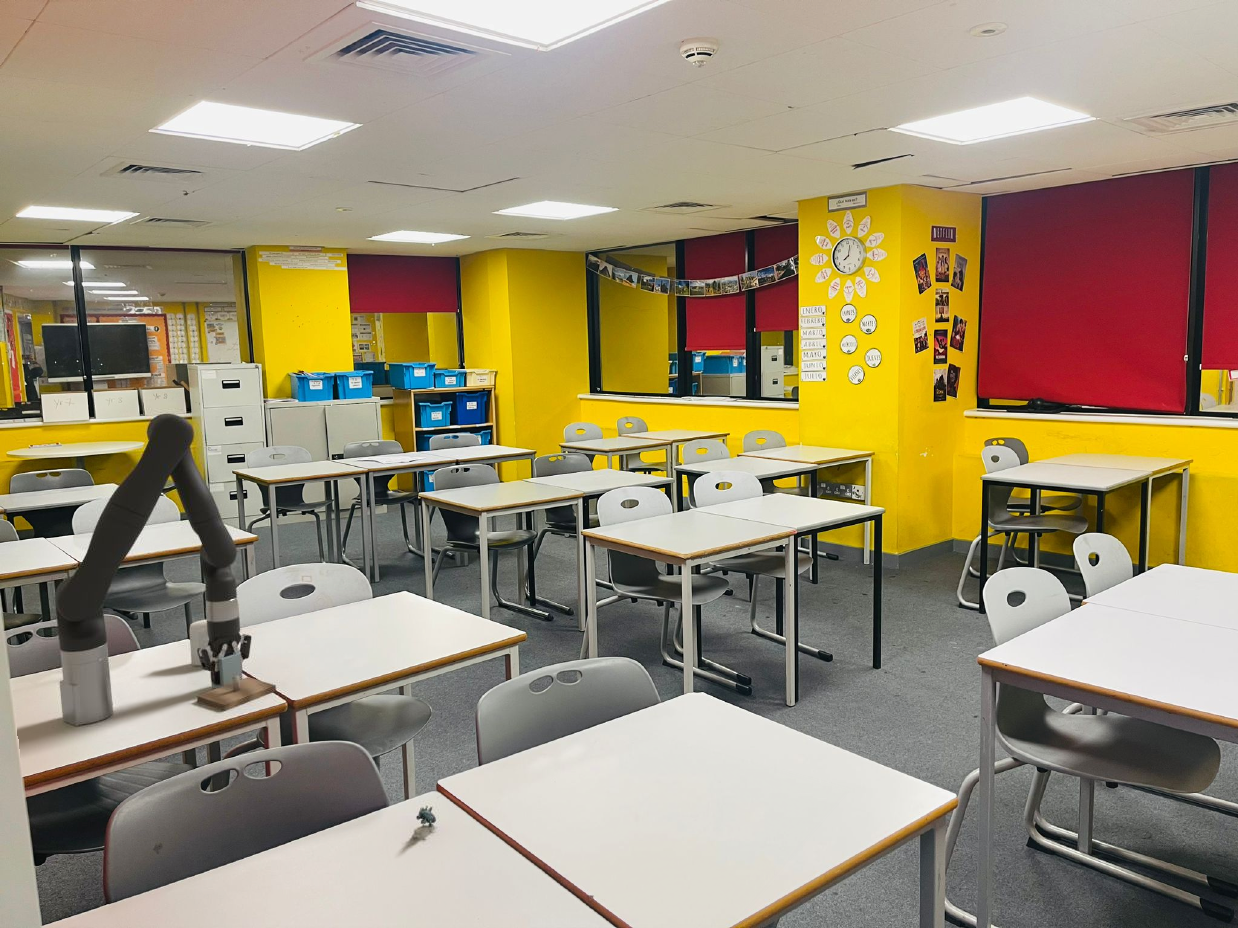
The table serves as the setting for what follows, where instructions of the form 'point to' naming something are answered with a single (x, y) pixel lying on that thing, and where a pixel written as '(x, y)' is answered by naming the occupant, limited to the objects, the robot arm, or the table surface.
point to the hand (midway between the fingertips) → (227, 680)
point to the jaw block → (229, 669)
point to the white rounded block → (198, 640)
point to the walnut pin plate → (236, 693)
